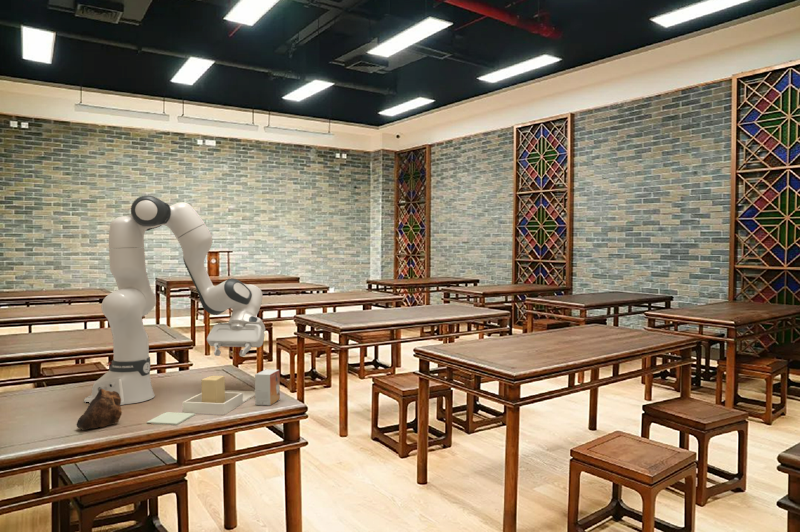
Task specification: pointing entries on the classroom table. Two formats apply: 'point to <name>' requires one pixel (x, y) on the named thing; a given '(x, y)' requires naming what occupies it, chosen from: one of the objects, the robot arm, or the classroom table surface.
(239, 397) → the box
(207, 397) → the block
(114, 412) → the decorative rock
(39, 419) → the classroom table surface
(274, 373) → the small box
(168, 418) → the sage mat
